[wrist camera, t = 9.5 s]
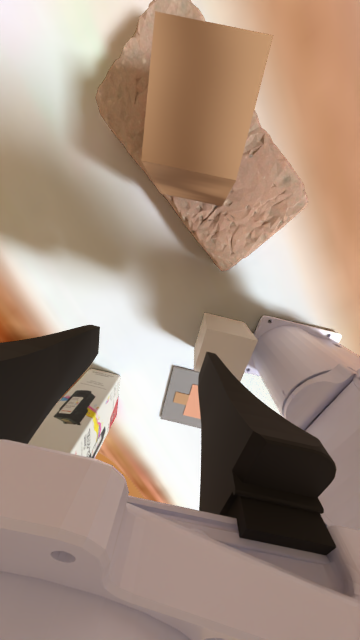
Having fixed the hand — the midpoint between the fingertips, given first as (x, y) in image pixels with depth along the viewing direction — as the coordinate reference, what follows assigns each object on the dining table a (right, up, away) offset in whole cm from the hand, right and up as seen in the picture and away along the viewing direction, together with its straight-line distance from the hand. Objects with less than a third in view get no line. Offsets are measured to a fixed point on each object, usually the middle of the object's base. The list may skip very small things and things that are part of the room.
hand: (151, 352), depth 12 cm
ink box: (-10, -9, +16) cm, 21 cm away
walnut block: (+3, +14, +1) cm, 14 cm away
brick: (+4, +16, +6) cm, 17 cm away
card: (+3, -10, +14) cm, 18 cm away
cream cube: (+7, 0, +11) cm, 13 cm away
